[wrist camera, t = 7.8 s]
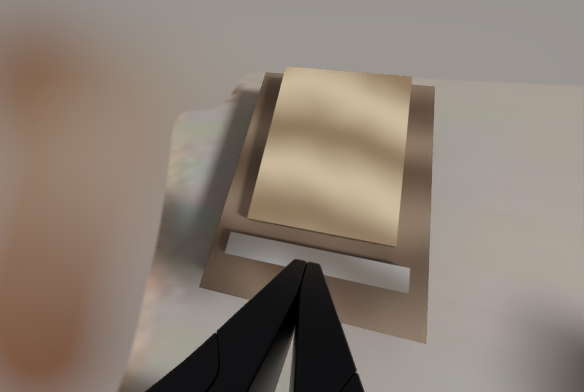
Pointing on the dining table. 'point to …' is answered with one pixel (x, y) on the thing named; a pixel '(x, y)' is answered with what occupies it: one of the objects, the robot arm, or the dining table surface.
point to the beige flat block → (332, 250)
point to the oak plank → (335, 155)
